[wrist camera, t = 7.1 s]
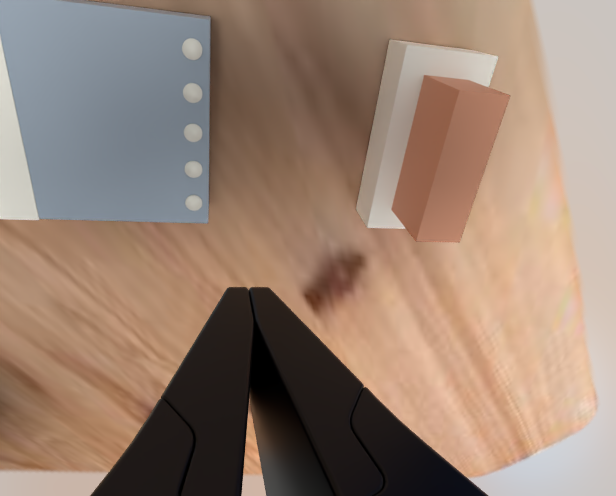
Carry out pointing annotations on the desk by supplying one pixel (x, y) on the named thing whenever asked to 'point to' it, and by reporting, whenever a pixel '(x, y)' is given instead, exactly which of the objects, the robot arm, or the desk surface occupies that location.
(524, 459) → the desk surface
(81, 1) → the light blue flat piece
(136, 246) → the desk surface
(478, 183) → the stub
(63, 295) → the desk surface
